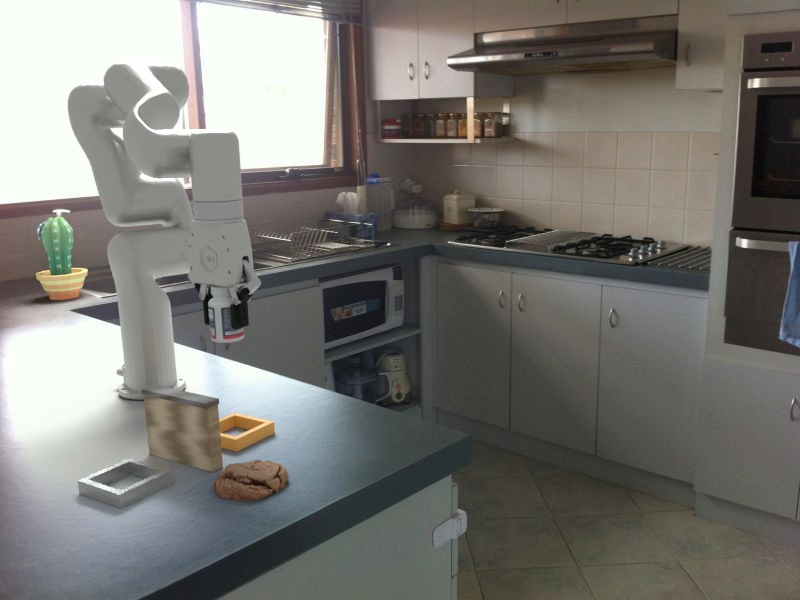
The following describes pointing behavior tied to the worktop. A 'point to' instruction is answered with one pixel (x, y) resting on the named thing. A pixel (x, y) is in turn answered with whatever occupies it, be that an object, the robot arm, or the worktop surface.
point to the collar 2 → (256, 432)
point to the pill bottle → (222, 316)
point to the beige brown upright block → (183, 427)
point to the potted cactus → (59, 261)
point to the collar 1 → (153, 482)
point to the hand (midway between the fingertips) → (226, 324)
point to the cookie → (250, 480)
